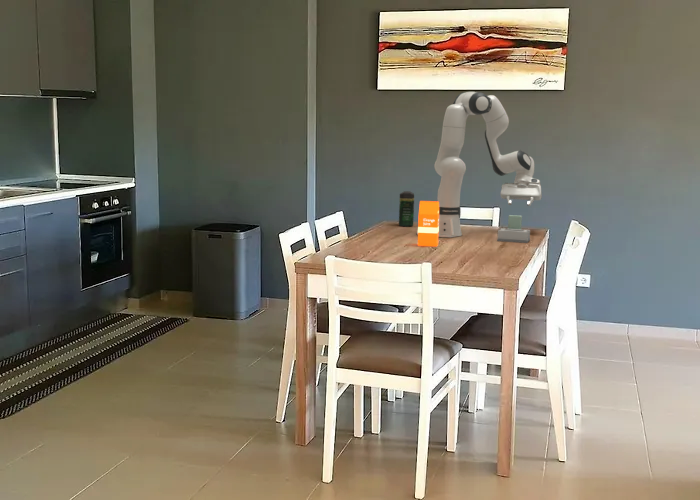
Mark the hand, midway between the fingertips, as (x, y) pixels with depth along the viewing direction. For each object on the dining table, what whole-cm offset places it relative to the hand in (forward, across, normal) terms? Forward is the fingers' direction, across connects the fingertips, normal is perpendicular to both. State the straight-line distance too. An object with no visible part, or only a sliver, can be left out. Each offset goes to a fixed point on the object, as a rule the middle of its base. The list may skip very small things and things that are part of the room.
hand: (519, 204), depth 384 cm
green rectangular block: (+19, 0, +3) cm, 19 cm away
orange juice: (+45, -33, -24) cm, 61 cm away
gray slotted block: (+25, +1, -3) cm, 25 cm away
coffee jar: (+5, -60, +17) cm, 63 cm away
